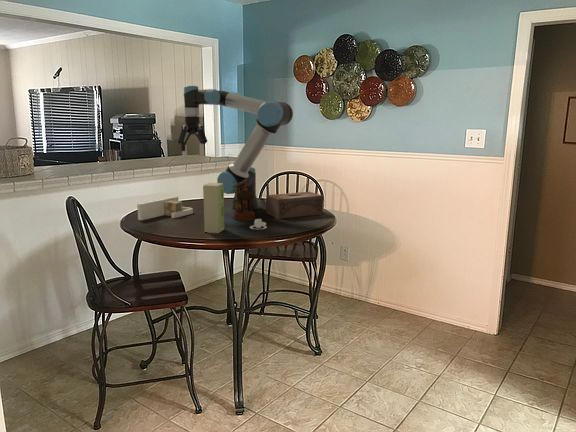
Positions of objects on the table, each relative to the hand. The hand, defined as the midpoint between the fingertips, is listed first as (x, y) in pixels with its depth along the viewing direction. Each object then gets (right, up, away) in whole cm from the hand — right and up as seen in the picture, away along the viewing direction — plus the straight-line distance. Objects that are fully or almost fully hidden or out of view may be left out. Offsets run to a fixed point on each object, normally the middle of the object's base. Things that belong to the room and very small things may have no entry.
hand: (193, 156), depth 253 cm
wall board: (-11, -32, -13) cm, 36 cm away
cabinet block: (-8, -31, -10) cm, 34 cm away
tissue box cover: (+54, -31, -6) cm, 63 cm away
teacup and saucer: (+40, -38, -37) cm, 66 cm away
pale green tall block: (+18, -39, -44) cm, 61 cm away
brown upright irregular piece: (+29, -33, -18) cm, 48 cm away
